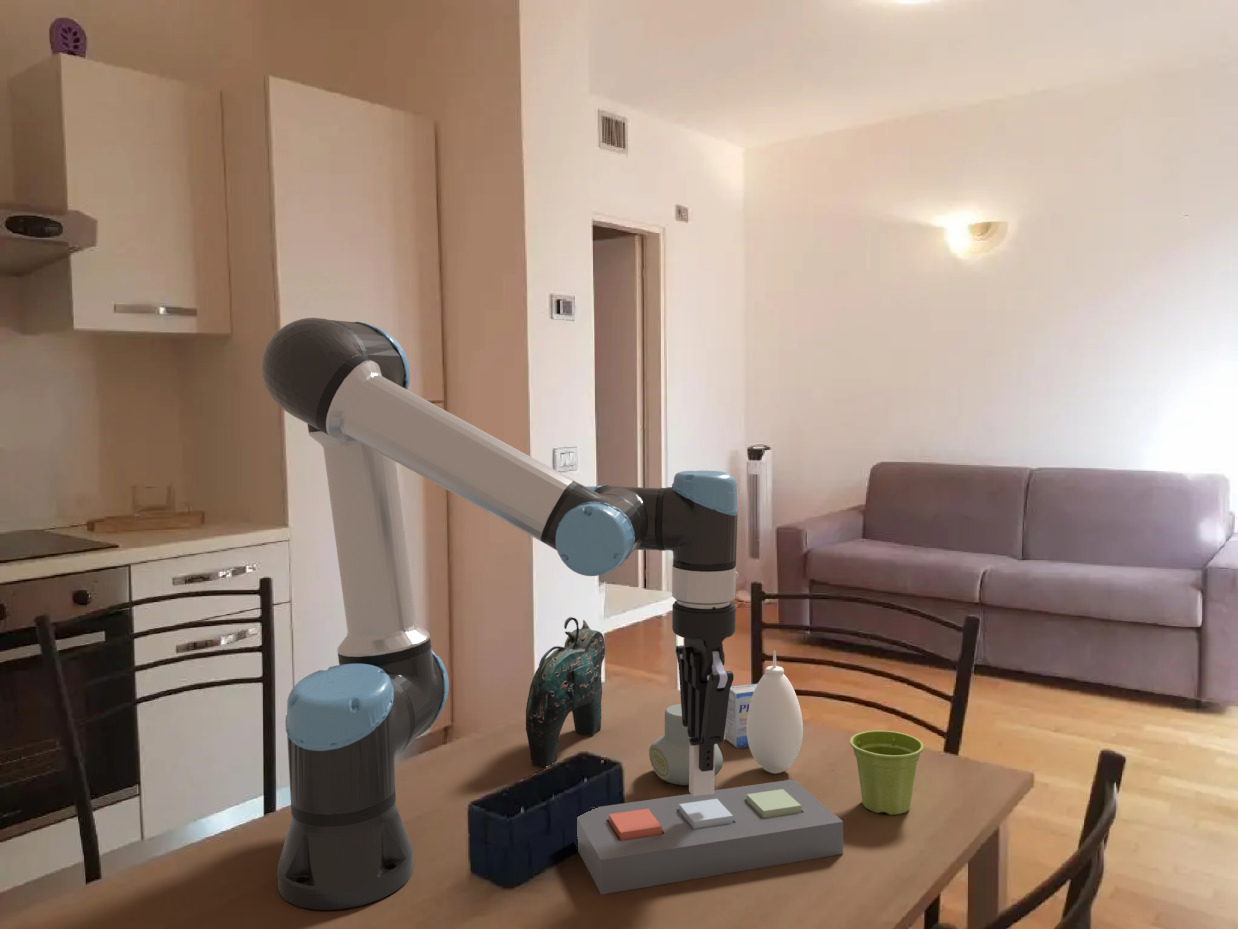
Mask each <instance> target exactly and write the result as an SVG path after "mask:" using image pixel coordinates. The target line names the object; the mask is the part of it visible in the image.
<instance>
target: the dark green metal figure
mask: <svg viewBox="0 0 1238 929" xmlns="http://www.w3.org/2000/svg"><path fill="white" fill-rule="evenodd" d="M571 621H574V623H575V625H576V626H575V627H576V629H574V630H572V631H564V633H565V635H567V637H566V639H565V642H564V646H560V645H556V646H555V645H554V646H553V647H551V648H549V649H548V650H547V651H545V653H544V654H543V656H542V657H541V659H540V661H539V665H538V668H537V669H536V670H535V673H534V674H533V678H532V680H531V683H530V686H529V690H528V691H529V692H528V697H527V701H526V706H525V707H526V709H525V731H526V735H527V736H526V737H527V743H528V746H529V754H530V755H529V756H530V764H531V766H533V765H534V766H533V767H537V766H539V767H538V768H543V767H546V766H549V765H552V763H554V762H555V763H557V760H558V747H559V740H560V735H561V731H562V729H563V726H564V724H565V721H566V719H567V717H568V715H569V714H570V713H572V719H573V725H574V731H575V733H576V734H578V735H582V736H591V737H593V736H594V735H595V733H596V734H597V733H598V732H599V731H601V728H602V696H603V685H602V683H603V682H602V667H603V662H604V659H605V657H606V656H605V655H606V643H605V641H606V640H605V637H604V634H603V633H602V632H601V631H598V630H595V629H594V630H593V629H591V627H590V626H589V625H588V624H587V622H586V621H585V620H584V619H583V620H582V627H581V628H579V621H578V619H577V618H576V617H574V616H573V617H572V616H570V617H568V618H567V619H566V620H564V624H563V626H564V629H565V630H567V629H568V628H567V627H568V625H569V623H570V622H571ZM552 651H553V652H552ZM551 652H552V653H551ZM555 763H554V764H555ZM552 766H553V765H552Z"/></svg>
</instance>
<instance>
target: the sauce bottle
mask: <svg viewBox="0 0 1238 929" xmlns="http://www.w3.org/2000/svg"><path fill="white" fill-rule="evenodd" d="M764 673H765V674H763V675H762V677H761V678H760V679H759V681H758V682H757V683H756V684H757V686H756V688H755V691H754V693H753V696H752V699H751V702H750V705H749V710H748V716H747V739H748V744H749V747H748V748H749V751H750V753H751V755H752V757H753V758H754V761H755V762H756V763H757V765H759V766H760V767H761V768H762V769H763V770H764V771H766V772H768V773H770V774H775V775H777V773H778V774H781V773H783V772H784V771H785V772H786V770H787V769H788V768H789V767H791V766H792V765H793V764H795V761H796V760H797V758H798V757H799V756H798V755H799V753H800V751H801V747H802V745H803V734H804V730H803V729H804V725H803V723H804V722H803V717H802V716H803V714H802V709H801V706H800V703H799V702H800V701H799V699H798V697H797V694H796V692H795V689H794V686H793V685H792V683H791V682H790V680H789V678H788V677H787V676H786V675H785V674H784V673H785V670H784V668H783V667H782V666H778V665H777V654H776V650H775V649H774V650H773V653H772V665H770V666H769V665H768V666H767V667H766V668H765V670H764Z"/></svg>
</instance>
